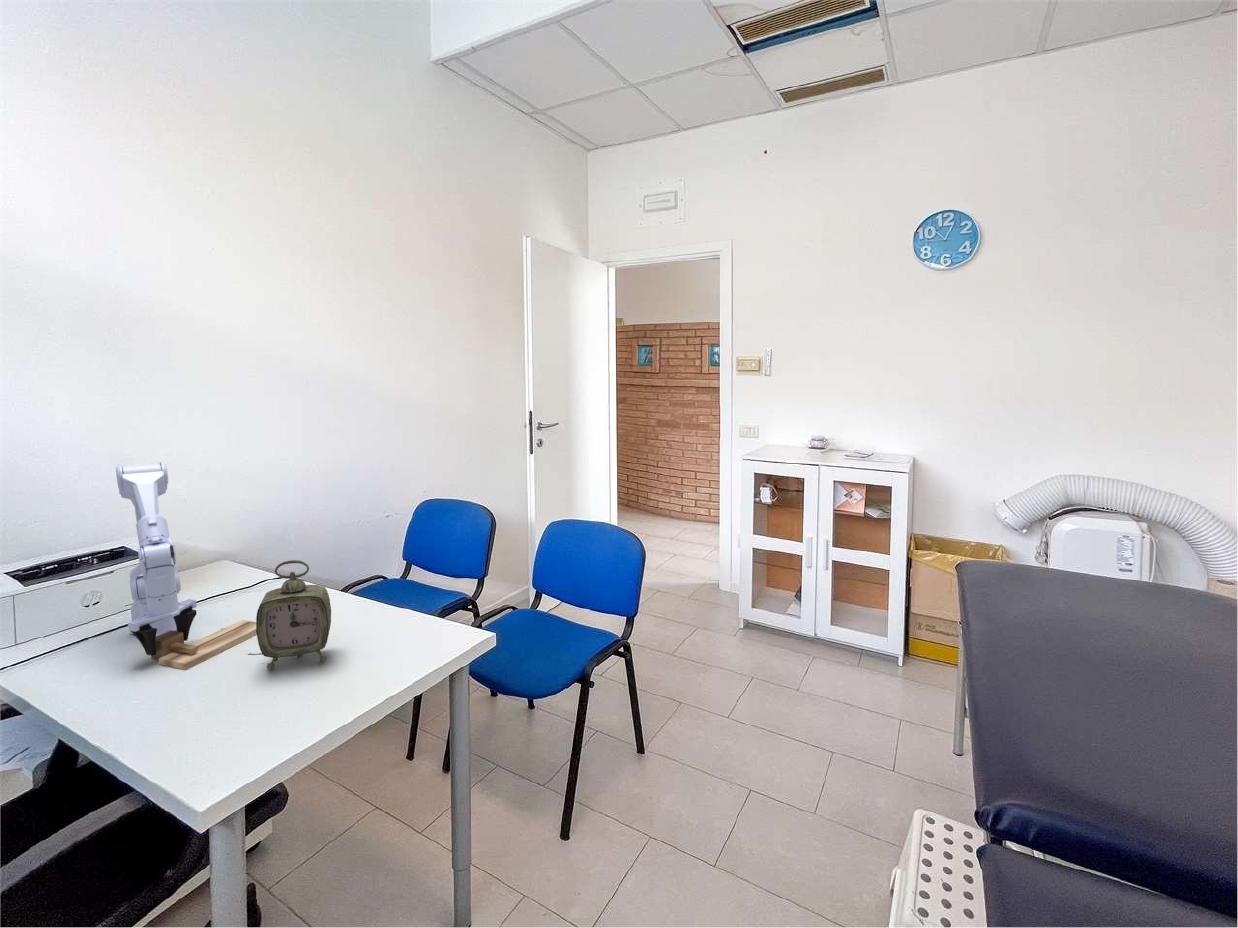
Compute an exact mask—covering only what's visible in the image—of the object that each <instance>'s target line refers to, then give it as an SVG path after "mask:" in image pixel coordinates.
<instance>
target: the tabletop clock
mask: <svg viewBox="0 0 1238 928" xmlns="http://www.w3.org/2000/svg"><path fill="white" fill-rule="evenodd" d="M290 564H299V565H300V564H301V565H303V566H305V568H306V570H305V571H304V572H302V573H299V574H296V572H295V571H290V572H289V575H285V574H284V575H283V574H280V573H278V570H279V568H281V567H282V566H284V565H290ZM309 570H310V567H309V564H308V563H306V562H305V561H303V560H297V559H293V560H291V559H290V560H287V561H283V562H281V563H279V564H278V565H276V567H275V568H274V574H275V575H276V576H277V577H278V578H282V579H287V580H285V581H284V582H283V583H282V585H281V587H279V588H275V589H271V590H270V591H267V592H266V593H265V595H264V596H263V598H262V600H261V602H260V604H259V606H258V609H257V611H256V612H257V613H256V619H255V620H256V621H255V622H256V633H257V635H256V637H257V643H258V647H259V650H260V653H262V654H263V655H264V656H263V655H262V656H263V657H266V658H271V659H272V660H271V662H268V663H269V664H268V663H267V664H266V670H268V671H273V670H274V669H275V668H276V664H275V662H276V661H275V660H276V658H278V659H279V658H290V657H297V658H302V657H303V656H304V655H309V654H314V653H317V654H318V656H319V658H318V661H319V663H322V664H323V663H325V662H326V661H327V656H325V655H323V654H322V652H321V650H323V649H325V647H326V645H327V643H328V638H329V634H330V629H331V625H332V624H331V623H332V607H331V600H330V595H329V593H328V590H327V588H326V587H325V586H323V585H320V584H307V583H305V581H304V580H303V579H300V578H301V577H303V576H306V575H307V574H308V573H309Z"/></svg>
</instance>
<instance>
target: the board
mask: <svg viewBox="0 0 1238 928" xmlns="http://www.w3.org/2000/svg"><path fill="white" fill-rule="evenodd" d="M255 636H257V633H256V621H252V620H245V619H242V620H239V621H237V622H234V623H232V624H230V625H228V626H226V627H224V628H222V629H220V630H218V631H215V632H213V633H212V634H209V635H207V636H205V637H202V638H200V639H198V640H196V641H194V642H191V643H190V644H189V643H188V644H189V645H194V646H198V651H197V652H195V653H193V654H189V653H184V652H179V651H174V652H172V653H170V654H168V655H165V656H163V657H161V658H159V660H158V665H160V666H165V667H170V668H174V669H179V670H185V671H187V670H188V669H191V668H193V667H195V666H197V665H198V664H200V663H203V662H205V661H207V660H208V659H210V658H211V659H212V657H215V656H216V655H219V654H221V653H222V652H224V651H227V650H228V649H230V648H232V647H234V646H237V645H239V644H240V643H243V642H244V641H247V640H249V639H250V638H252V637H255Z"/></svg>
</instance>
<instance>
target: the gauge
mask: <svg viewBox="0 0 1238 928" xmlns="http://www.w3.org/2000/svg"><path fill="white" fill-rule="evenodd" d="M155 644H156V654H155V655H153V656H152V655H150V659H151V660H156V661H159V658H161V657H163V656H165V655H168V654H170V653H172V652H174V651H179V652H184V653H189V654H193V653H195V652H197V651H198V646H194V645H189V643H185V641H184V637H183V632H177V630H176V631H172V630H170V631H167V632H165V633H163V634H160V635H158V636H156V639H155Z"/></svg>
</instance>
